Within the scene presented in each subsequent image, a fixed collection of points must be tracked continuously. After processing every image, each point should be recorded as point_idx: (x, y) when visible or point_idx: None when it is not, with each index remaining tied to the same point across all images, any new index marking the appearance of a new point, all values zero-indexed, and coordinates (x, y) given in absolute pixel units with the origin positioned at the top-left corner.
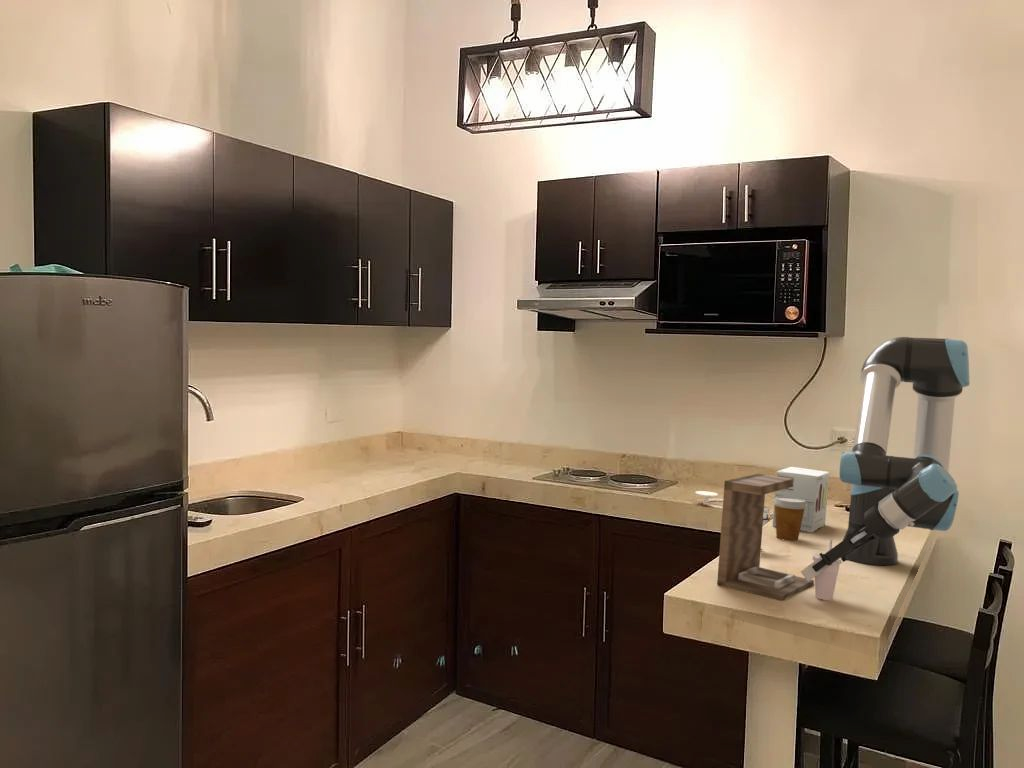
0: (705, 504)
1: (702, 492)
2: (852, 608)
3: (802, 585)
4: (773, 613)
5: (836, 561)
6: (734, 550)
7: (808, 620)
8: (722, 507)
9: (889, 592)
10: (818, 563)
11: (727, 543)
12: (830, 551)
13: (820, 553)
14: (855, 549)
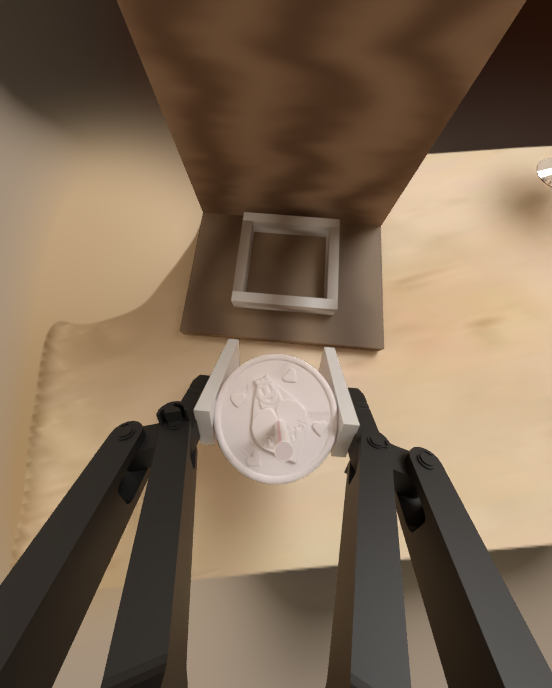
0: None
1: None
2: (234, 486)
3: (309, 340)
4: (72, 347)
5: (239, 468)
6: (222, 141)
7: (62, 423)
8: None
9: None
10: (184, 400)
11: (157, 97)
12: (76, 491)
13: (159, 410)
14: (413, 565)
